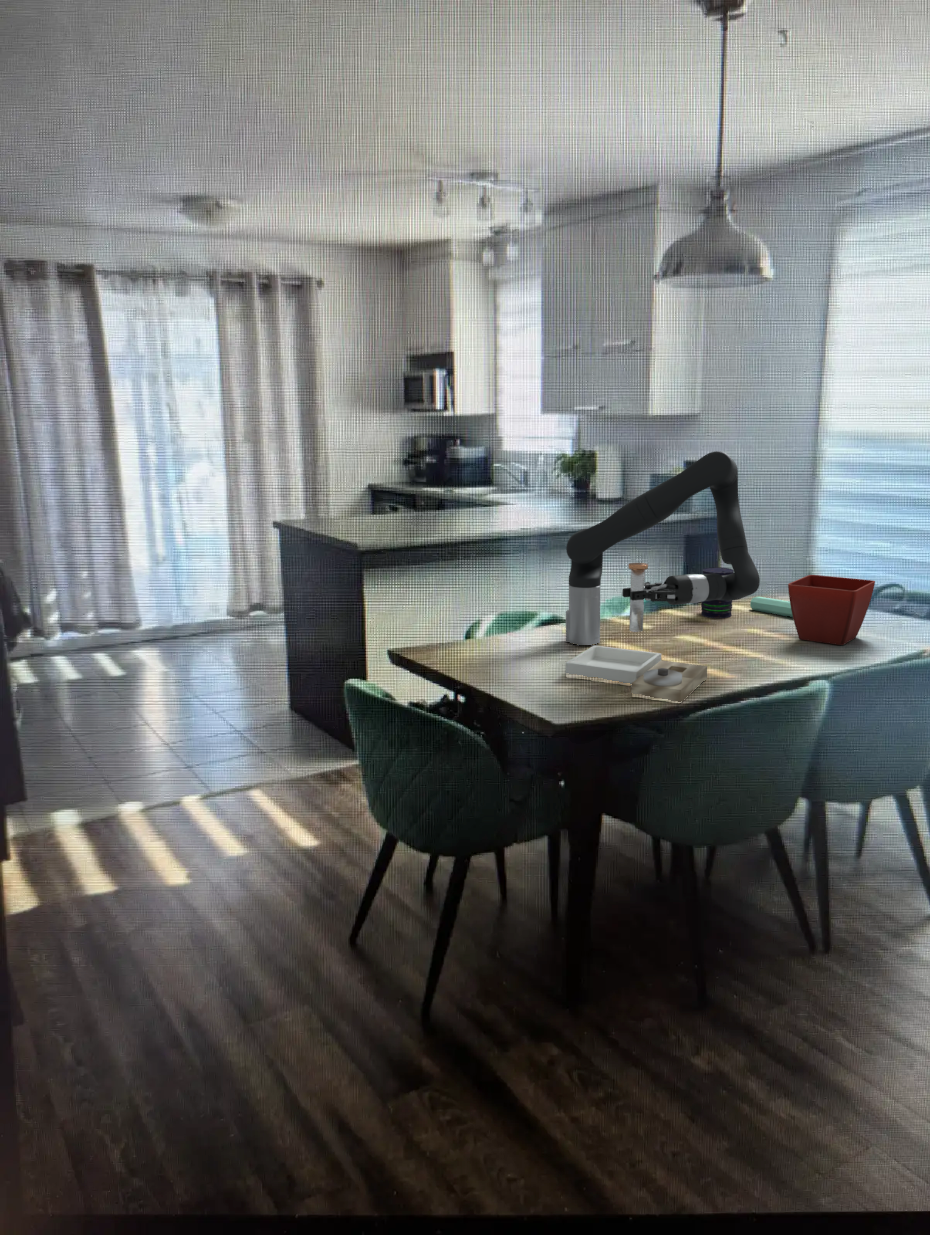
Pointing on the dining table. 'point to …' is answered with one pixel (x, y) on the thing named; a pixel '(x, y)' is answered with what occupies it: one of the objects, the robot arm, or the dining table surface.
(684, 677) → the wooden peg base
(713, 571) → the storage jar
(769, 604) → the mint green rod
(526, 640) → the dining table surface
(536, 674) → the dining table surface
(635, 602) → the lock pin
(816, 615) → the plant pot
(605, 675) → the tray
